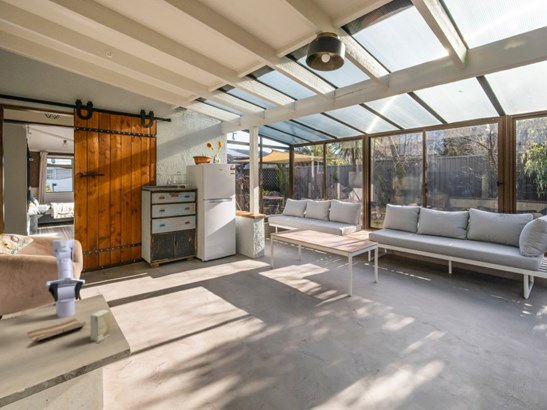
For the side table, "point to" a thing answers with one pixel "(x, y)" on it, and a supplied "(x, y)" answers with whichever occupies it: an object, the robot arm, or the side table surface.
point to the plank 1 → (49, 335)
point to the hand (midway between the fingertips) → (67, 299)
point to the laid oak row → (52, 328)
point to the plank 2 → (73, 327)
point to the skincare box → (100, 325)
